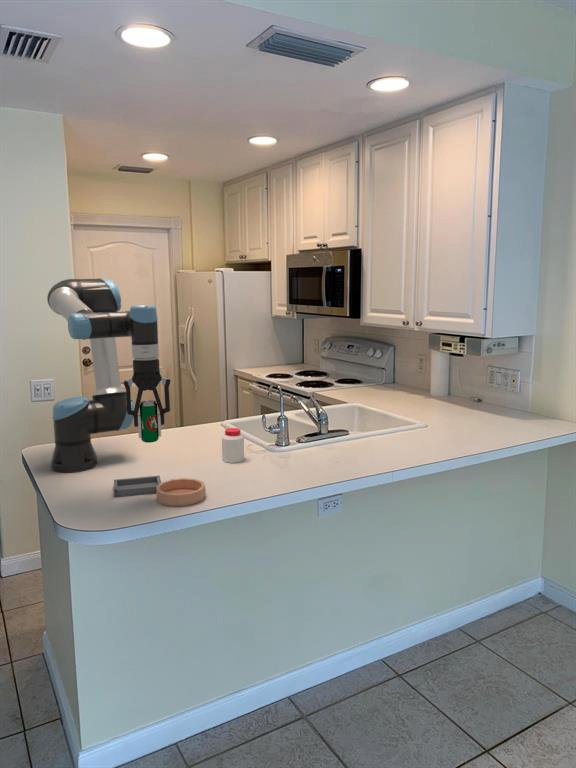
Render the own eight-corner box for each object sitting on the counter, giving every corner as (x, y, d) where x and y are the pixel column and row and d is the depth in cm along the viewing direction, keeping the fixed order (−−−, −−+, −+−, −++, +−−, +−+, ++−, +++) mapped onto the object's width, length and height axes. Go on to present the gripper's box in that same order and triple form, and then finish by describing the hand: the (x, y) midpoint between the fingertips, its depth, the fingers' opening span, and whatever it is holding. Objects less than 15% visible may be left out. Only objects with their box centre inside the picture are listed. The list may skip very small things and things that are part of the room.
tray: (114, 496, 177) (114, 490, 176) (114, 485, 186) (113, 479, 186) (162, 492, 181) (162, 485, 180) (159, 481, 190) (159, 475, 190)
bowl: (158, 508, 168) (158, 497, 167) (155, 491, 181) (154, 481, 180) (208, 503, 172) (208, 491, 171) (201, 487, 185) (201, 476, 184)
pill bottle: (247, 457, 215) (247, 428, 213) (238, 463, 208) (238, 433, 206) (227, 455, 217) (227, 426, 216) (218, 461, 210) (218, 431, 208)
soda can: (143, 439, 180) (141, 399, 178) (160, 438, 180) (158, 399, 178) (140, 443, 175) (137, 403, 173) (157, 442, 175) (155, 402, 173)
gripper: (113, 361, 168) (118, 441, 171) (178, 358, 172) (181, 436, 176) (113, 358, 175) (118, 435, 178) (176, 355, 179) (179, 431, 183)
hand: (150, 436), depth 177 cm, fingers closed on soda can, 5 cm apart
